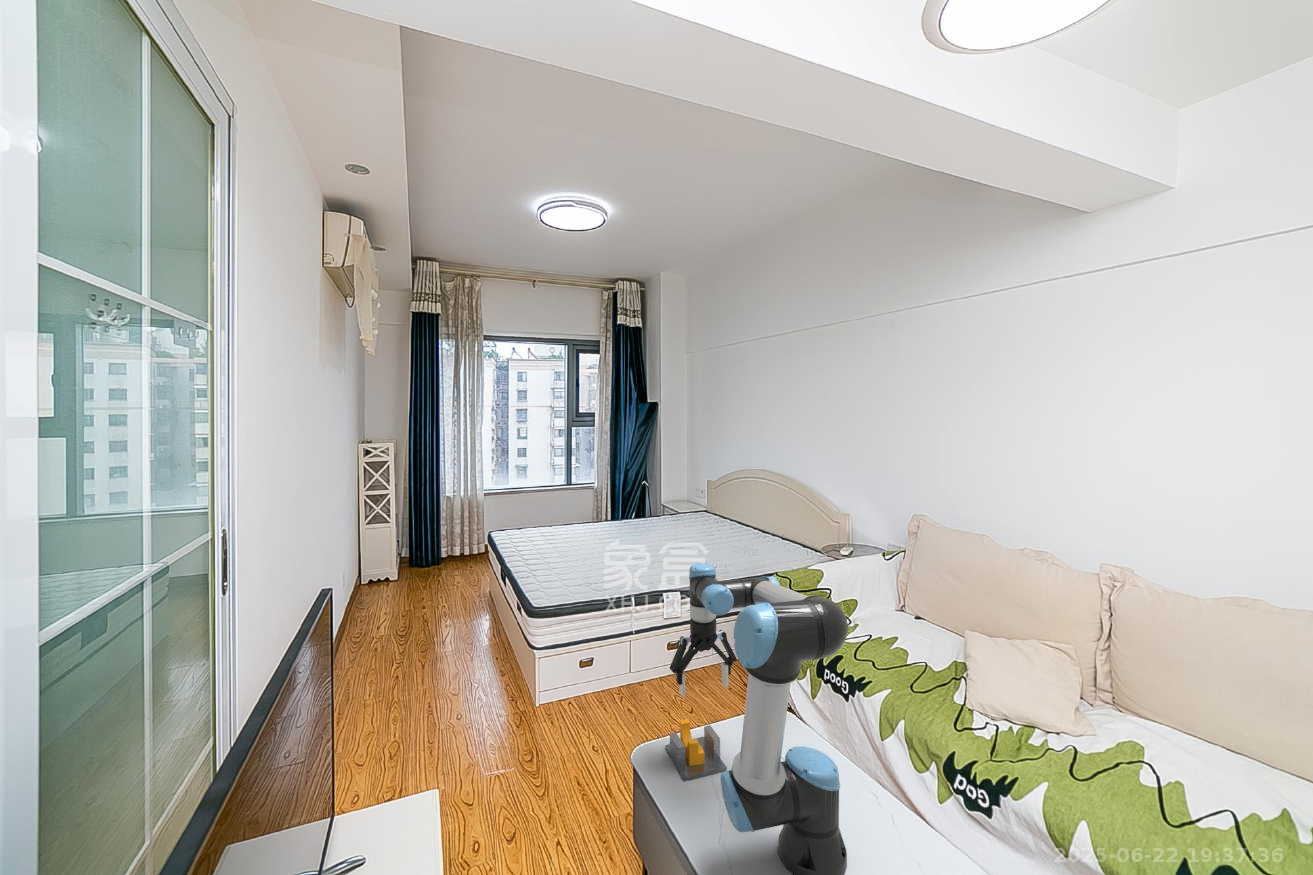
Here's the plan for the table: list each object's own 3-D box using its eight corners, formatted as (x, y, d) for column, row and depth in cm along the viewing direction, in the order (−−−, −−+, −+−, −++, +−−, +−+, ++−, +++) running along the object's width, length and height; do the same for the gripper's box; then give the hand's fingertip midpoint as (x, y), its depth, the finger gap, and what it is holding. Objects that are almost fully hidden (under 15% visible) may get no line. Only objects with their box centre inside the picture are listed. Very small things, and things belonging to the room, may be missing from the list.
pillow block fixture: (726, 770, 155) (726, 746, 155) (684, 781, 151) (683, 756, 150) (704, 739, 170) (704, 717, 169) (665, 748, 165) (664, 725, 165)
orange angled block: (704, 763, 157) (704, 741, 156) (689, 765, 156) (689, 743, 155) (694, 738, 168) (693, 718, 168) (680, 740, 168) (680, 720, 167)
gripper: (735, 607, 166) (736, 676, 166) (658, 619, 157) (659, 692, 158) (747, 616, 159) (748, 687, 159) (667, 629, 150) (668, 704, 151)
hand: (704, 690), depth 159 cm, fingers open, 13 cm apart
